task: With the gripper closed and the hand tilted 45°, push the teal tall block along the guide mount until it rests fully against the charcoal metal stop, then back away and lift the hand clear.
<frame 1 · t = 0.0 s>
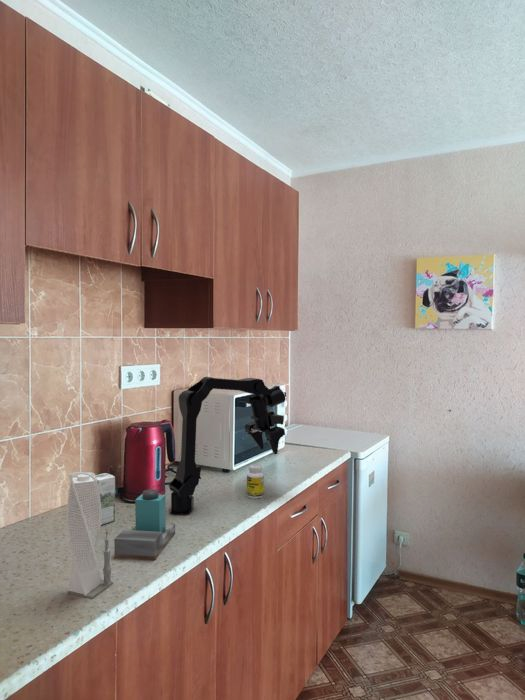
hand: (268, 451, 180), 15 cm above the table, tool pointing down, fingers open, 9 cm apart
skyscraper: (86, 590, 112), on the table
syrup box: (102, 522, 153), on the table
pill bottle: (255, 496, 177), on the table
teal tall block: (150, 513, 139), point 8 cm above the table, slide at -3.0 cm
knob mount: (143, 548, 133), on the table
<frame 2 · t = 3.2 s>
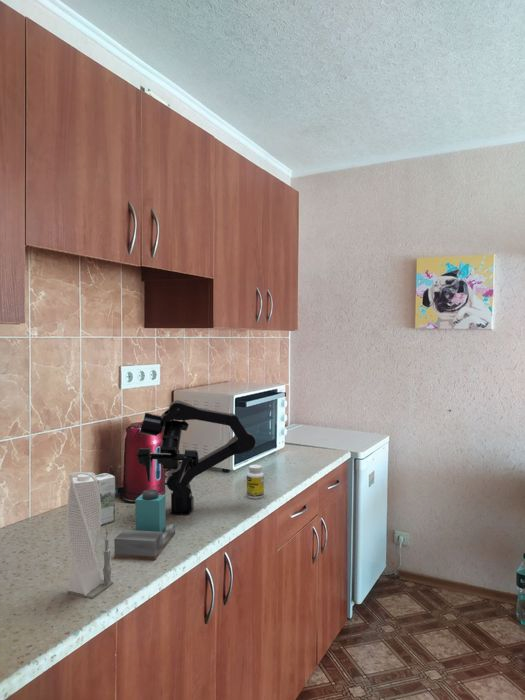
hand: (163, 481, 148), 14 cm above the table, tool tilted 45°, fingers open, 9 cm apart
nothing on the table moved.
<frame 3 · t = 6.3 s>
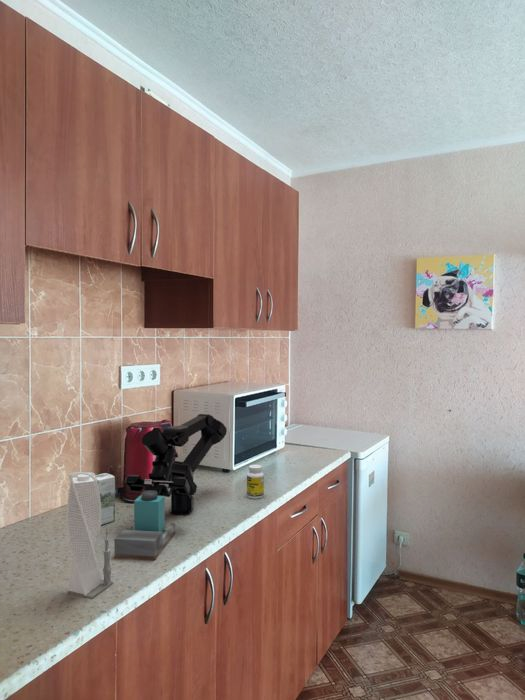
hand: (150, 511, 141), 8 cm above the table, tool tilted 45°, fingers closed, pressing on teal tall block
teal tall block: (149, 514, 138), point 8 cm above the table, slide at -2.1 cm, touching gripper
everything else where it was.
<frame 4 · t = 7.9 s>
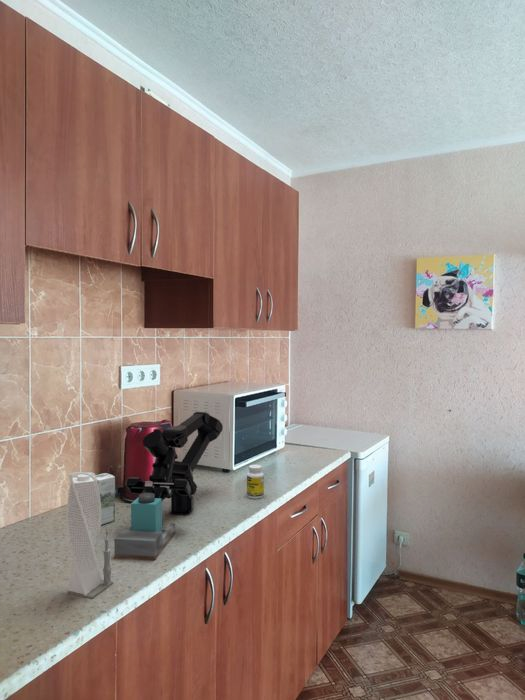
hand: (151, 513, 140), 7 cm above the table, tool tilted 45°, fingers closed
teal tall block: (146, 517, 136), point 8 cm above the table, slide at 0.0 cm
everything else where it was.
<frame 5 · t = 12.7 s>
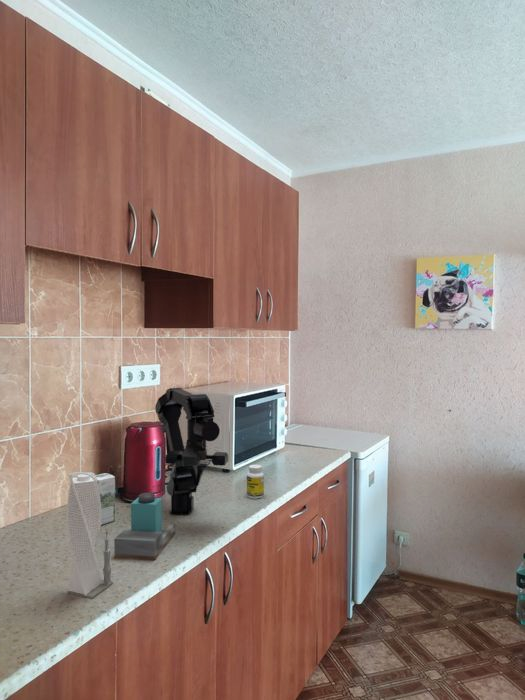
hand: (197, 485, 150), 12 cm above the table, tool pointing down, fingers closed
nothing on the table moved.
at the end: teal tall block slide at 0.0 cm; syrup box moved 0.2 cm from its start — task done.
